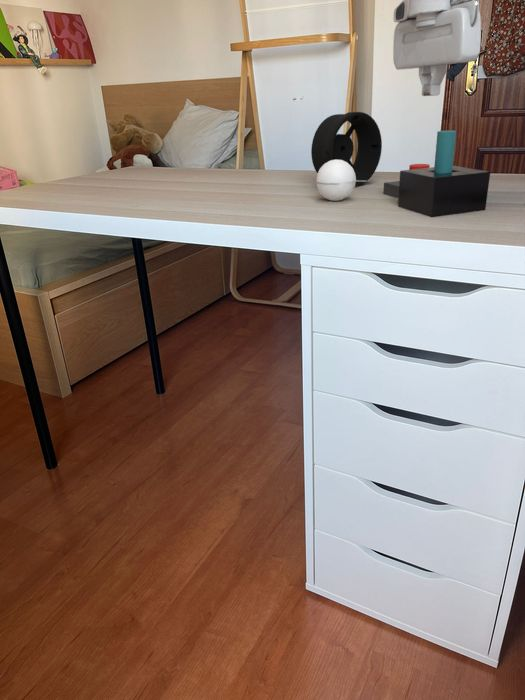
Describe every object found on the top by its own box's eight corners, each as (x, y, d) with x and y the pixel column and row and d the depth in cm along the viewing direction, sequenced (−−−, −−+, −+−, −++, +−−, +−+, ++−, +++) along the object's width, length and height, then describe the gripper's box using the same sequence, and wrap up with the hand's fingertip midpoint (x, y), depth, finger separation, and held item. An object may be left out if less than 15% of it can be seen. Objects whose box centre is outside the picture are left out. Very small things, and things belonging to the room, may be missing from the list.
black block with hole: (447, 200, 93) (451, 165, 91) (485, 210, 85) (490, 171, 82) (397, 207, 91) (399, 170, 88) (431, 217, 82) (435, 177, 80)
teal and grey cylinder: (441, 206, 89) (449, 130, 84) (451, 209, 87) (460, 130, 82) (427, 208, 89) (433, 131, 83) (437, 211, 86) (444, 132, 81)
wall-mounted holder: (349, 110, 116) (383, 109, 108) (348, 178, 122) (380, 182, 114) (298, 114, 108) (330, 114, 101) (300, 187, 115) (330, 192, 107)
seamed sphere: (307, 201, 99) (307, 160, 96) (335, 195, 103) (335, 156, 100) (347, 207, 92) (347, 163, 89) (374, 201, 96) (376, 159, 93)
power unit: (428, 189, 105) (429, 168, 103) (452, 195, 98) (455, 172, 96) (383, 194, 102) (384, 172, 100) (405, 200, 95) (407, 177, 94)
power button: (421, 172, 100) (422, 163, 100) (432, 175, 97) (433, 165, 97) (405, 174, 100) (405, 165, 99) (415, 177, 96) (416, 166, 96)
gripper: (496, -11, 78) (485, 93, 84) (419, 11, 96) (414, 95, 102) (460, -10, 77) (451, 95, 83) (388, 12, 94) (385, 98, 100)
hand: (430, 95), depth 92 cm, fingers closed
